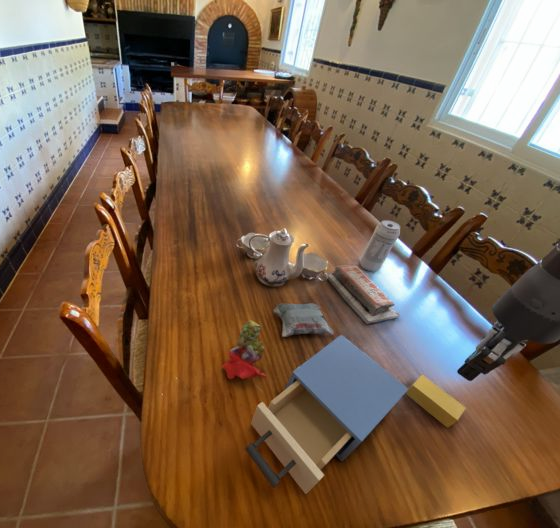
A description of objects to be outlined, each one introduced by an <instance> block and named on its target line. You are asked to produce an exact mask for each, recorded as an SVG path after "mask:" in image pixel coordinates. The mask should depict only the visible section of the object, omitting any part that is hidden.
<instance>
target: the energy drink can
mask: <svg viewBox="0 0 560 528" xmlns="http://www.w3.org/2000/svg"><path fill="white" fill-rule="evenodd" d="M400 234H401V225H400V224H399V223H397V222H395V221H393V220H389V219H385V220H382V221H381V223H379V224H377V225H376V227H375V229H374V231H373V233H372V235H371V237H370V239H369V241H368V243H367V245H366V247H365V249H364V251H363V253H362V255H361V257H360V259H359V264H360V266H361V267H362V268H363V269H364V270H366V271H368V272H377V271H379V270H380V269H381V268H382V266H383V265H384V263H385V261H386V259H387V257H388V256H389V254H390V252H391V250H392V248H393V247H394V245H395V243H396V241H397V240H398V238H399V236H400Z"/></svg>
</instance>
